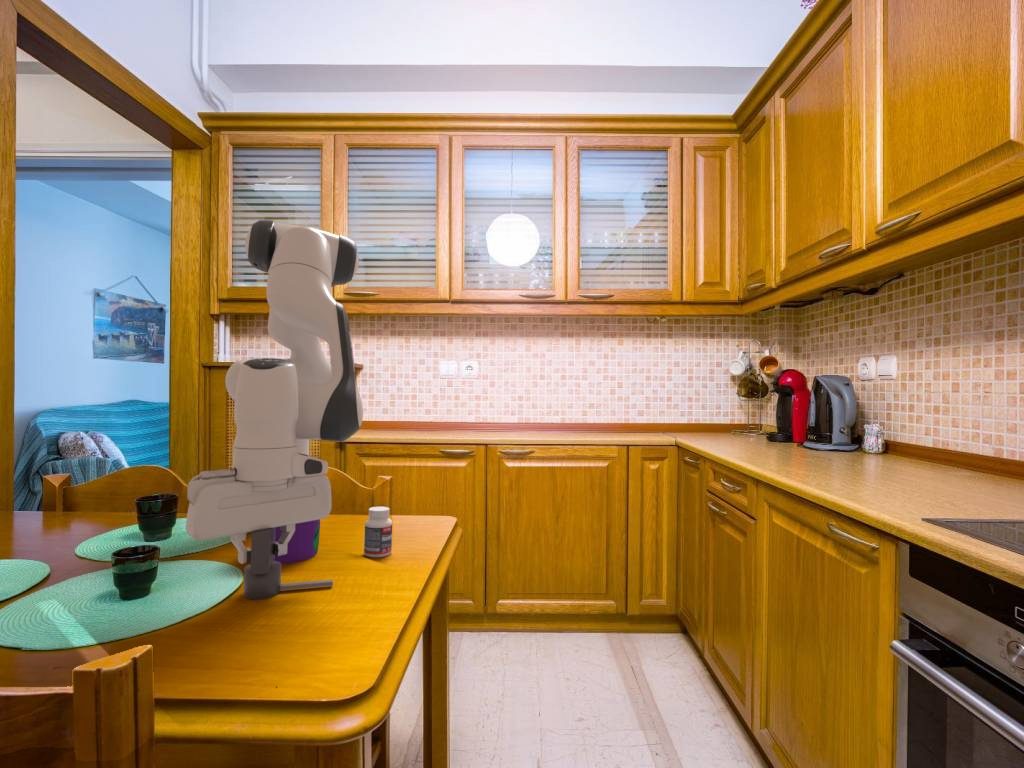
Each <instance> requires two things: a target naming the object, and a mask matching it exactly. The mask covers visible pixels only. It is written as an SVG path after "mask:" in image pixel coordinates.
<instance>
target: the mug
mask: <svg viewBox="0 0 1024 768" xmlns="http://www.w3.org/2000/svg"><path fill="white" fill-rule="evenodd" d="M320 530H321V519H318V520H313V521H307V522H302V523H296V524H295V532H294V534H293V535H292V537H291V539H290V541H289V542H288V544H287V554H284V555H280V556H276V555H275V559H274V561H278V562H280V563H281V565H286V564H287V565H288V564H294V563H299V562H302V561H307V560H309V559H312V558H314V557H315V556H316V555H317V554H318V551H319V546H320V545H319V544H320V532H321V531H320ZM282 532H283V530H281V529H280V527H276V531H275V542H278V540H279V538H280V536H281V534H282Z"/></svg>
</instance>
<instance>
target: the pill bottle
mask: <svg viewBox="0 0 1024 768" xmlns="http://www.w3.org/2000/svg"><path fill="white" fill-rule="evenodd" d="M390 510H391V509H390V508H389V507H387V506H372V507H369V508H368V517H369V519H366V521H365V524H364V540H363V541H364V544H363V545H364V546H363V554H364V556H366V557H369V558H375V559H376V558H384V557H387V556H389V555H391V554H392V551H393V547H392V546H393V543H392V542H393V541H392V539H393V521H392V519H391V518H389V517H390Z"/></svg>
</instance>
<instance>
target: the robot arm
mask: <svg viewBox="0 0 1024 768" xmlns="http://www.w3.org/2000/svg"><path fill="white" fill-rule="evenodd" d="M245 237H246V238H245V242H244V248H245V253H246V256H247V260H248V262H249V263H250V265H251V266H252V267H253V268H254V269H257V270H259V271H261V272H263V273H264V272H265V273H267V274H268V275H267V281H266V300H267V304H268V305H269V313H268V320H267V321H268V322H267V330H268V331H267V332H268V334H269V336H270V338H271V339H273V340H274V341H275V342H277V344H280V345H281V346H283V347H285V348H286V349H288V350H290V356H289V358H276V357H275V358H272V357H270V358H269V357H253V358H245V359H238V360H235V362H233V363H232V364H231V365H230V367H229V368H228V370H227V372H226V375H225V379H224V380H225V381H224V383H225V387H226V388H225V389H226V391H227V392H228V395H229V396H230V398H232V399H233V401H234V408H233V409H234V410H233V420H234V422H235V425H236V432H235V433H236V434H235V438H234V441H233V445H232V447H233V449H232V468H226V469H225V468H224V469H218V470H203V471H200V473H199V474H197V475H194V476H193V477H191V479H190V480H189V482H188V484H187V500H188V502H189V504H188V509H187V515H186V520H185V521H186V522H185V532H186V534H187V535H188V536H189V537H191V539H194V540H195V541H201V542H202V541H208V540H213V539H218V538H223V537H229V536H230V538H229V540H230V541H231V543H232V544H233V546H234V547H235V548H236V550H237V561H238V563H240V564H241V565H243V564H248V563H251V547H250V548H249V547H246V545H245V544H244V542H243V541H246V540H247V533H252V531H258V530H263V529H269V528H274V527H280V529H281V530H283V532H282V534H281V536H280V538H279V540H278V542H274V543H273V548H274V549H273V554H274V555H276V556H280V555H284V554H287V544H288V542H289V541H290V539H291V537H292V535H293V534H294V532H295V524H296V523H302V522H307V521H313V520H318V519H320V520H322V519H326V518H327V517H328V516H329V515H330V513H331V511H332V489H331V488H332V487H331V482H330V479H329V477H328V476H327V475H325V474H327V473H328V471H329V463H328V461H327V460H323V459H322V458H318V457H317V458H316V457H312V456H310V440H321V441H328V442H329V441H330V442H339V443H343V442H345V441H347V440H349V439H350V438H351V437H352V436H354V435H355V434H356V433H357V432H358V431H360V429H361V426H362V423H363V418H364V408H363V402H362V398H361V393H360V391H359V389H358V384H357V375H356V369H355V368H356V367H355V359H354V351H353V343H352V337H351V336H352V335H351V330H350V323H349V318H348V313H347V311H346V309H345V306H344V305H343V304H342V303H340V302H339V301H336V300H335V298H334V296H333V294H332V288H334V287H336V286H341V285H346V284H348V283H349V282H351V281H352V280H353V278H354V277H355V274H356V272H357V271H358V268H359V265H360V264H359V263H360V262H359V261H360V257H359V253H358V247H357V245H356V243H355V242H354V240H352V239H351V238H348V237H346V236H344V235H341V234H339V235H337V234H334V233H331V232H328V231H325V230H322V229H318V228H316V227H310V226H303V225H302V226H301V225H298V224H291V223H284V222H283V223H282V222H275V220H271V219H270V220H269V219H266V220H265V219H261V220H260V219H259V220H258V221H255V222H254V223H252V225H251V228H250V229H249V230H248V232H247V234H246V236H245ZM320 339H322V340H323V341H325V343H327V344H328V351H329V359H327V357H326V355H325V353H324V352H323V349H322V346H321V341H320Z"/></svg>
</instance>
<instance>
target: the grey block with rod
mask: <svg viewBox="0 0 1024 768" xmlns="http://www.w3.org/2000/svg"><path fill="white" fill-rule="evenodd" d="M275 531H276V527H274V528H269V529H263V530H258V531H252V532H251V539H250V540H251V544H250V545H251V547H250V549H251V562H250V564H247V565H245V567H244V577H243V579H244V580H243V597H244V598H246V599H248V600H264V599H268V598H273V597H275V596H276V595H279V594H280V593H281V591H287V590H288V591H289V590H298V589H309V588H311V589H312V588H321V587H323V588H324V587H331V586H334V579H323V580H321V579H320V580H314V581H312V580H311V581H300V582H289V583H282V564H281V563H280V562H278V561H274V559H275V555H274V554H273V549H274V548H273V543H274V542H275Z"/></svg>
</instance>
